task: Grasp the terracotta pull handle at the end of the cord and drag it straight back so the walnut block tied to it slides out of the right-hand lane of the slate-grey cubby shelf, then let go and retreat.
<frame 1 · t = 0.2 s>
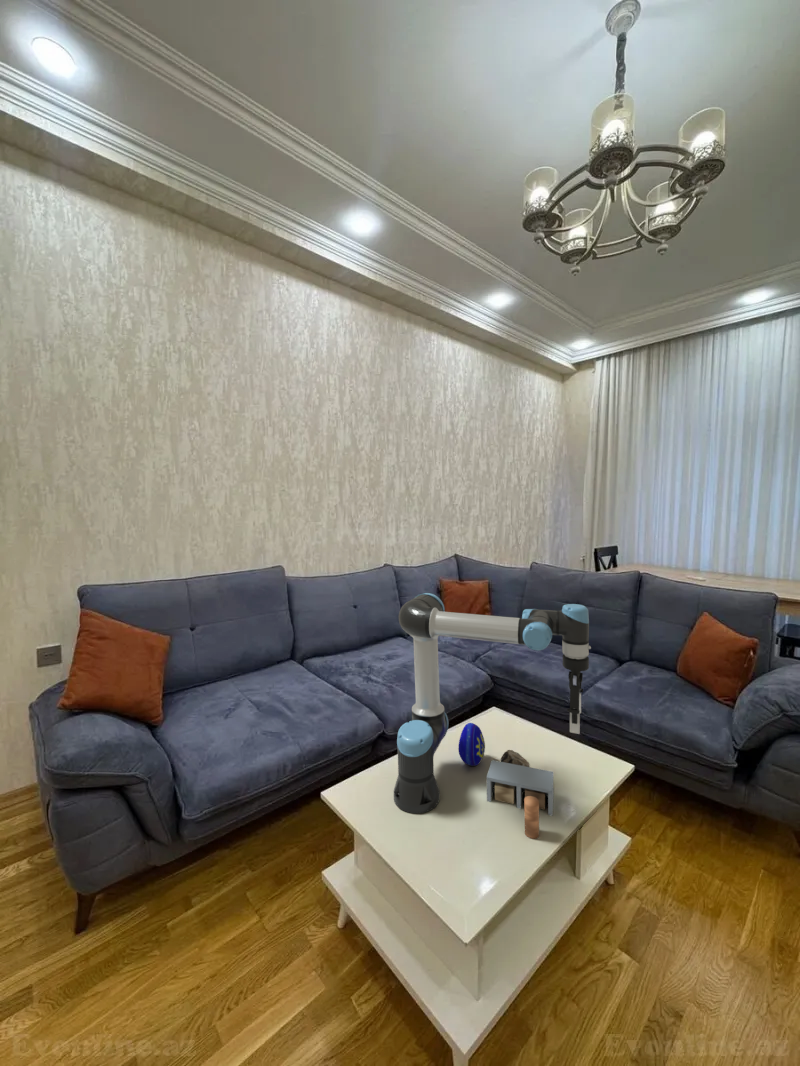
hand: (575, 722, 133), 27 cm above the table, fingers open, 13 cm apart
ornament: (471, 763, 160), on the table
tethered block: (535, 801, 138), on the table
oak block: (505, 796, 141), on the table
stone: (515, 775, 152), on the table
cubby shelf: (520, 798, 140), on the table
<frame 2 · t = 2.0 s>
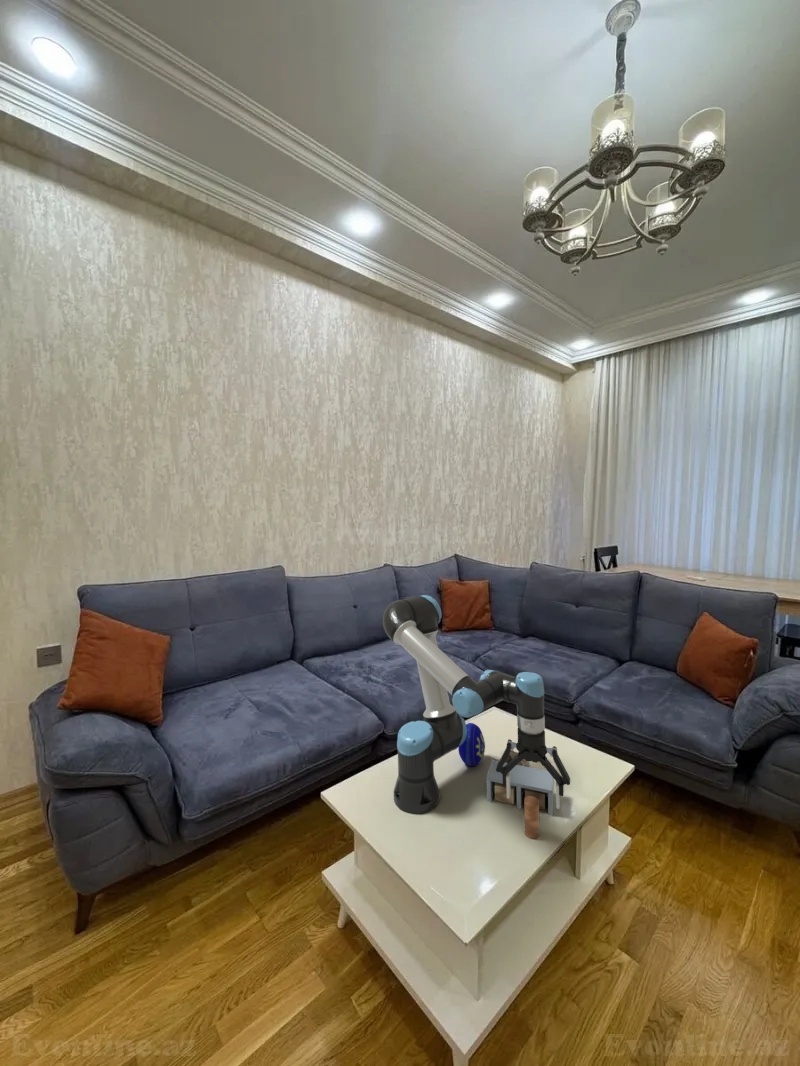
hand: (532, 800, 124), 10 cm above the table, fingers open, 13 cm apart
nothing on the table moved.
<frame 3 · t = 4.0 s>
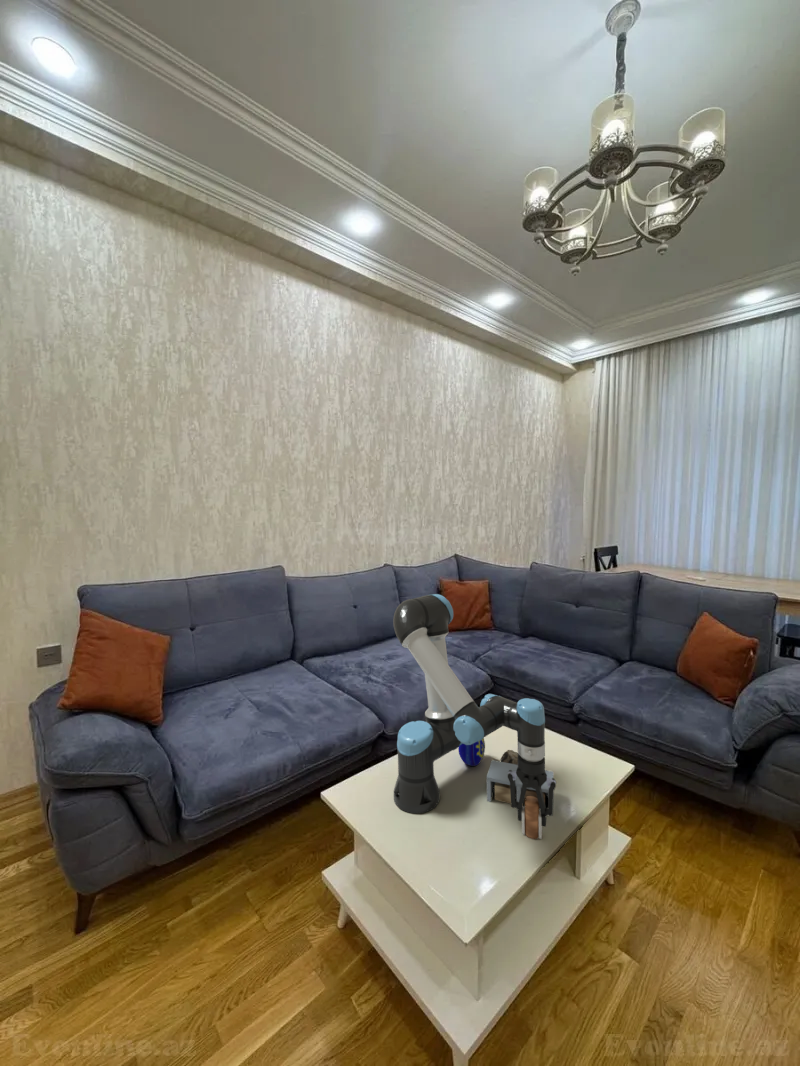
hand: (532, 832, 124), 0 cm above the table, fingers closed on tethered block, 4 cm apart
tethered block: (535, 801, 138), on the table, touching gripper
everything else where it was.
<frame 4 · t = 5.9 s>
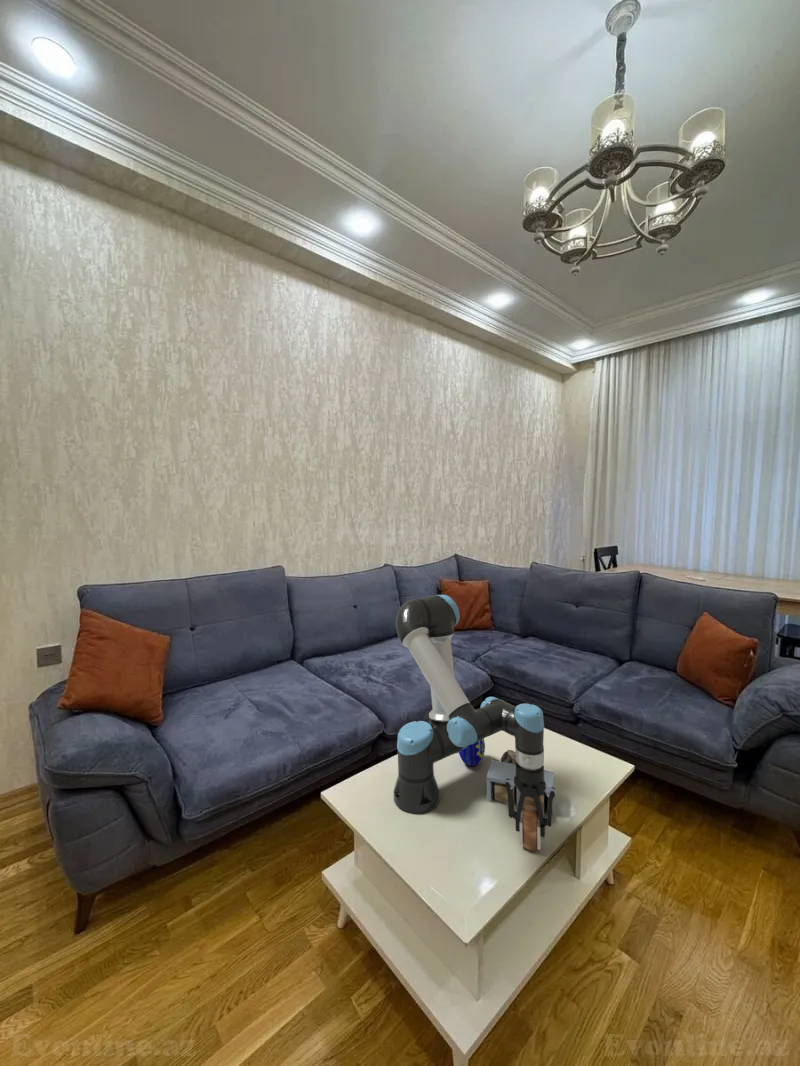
hand: (530, 843, 119), 1 cm above the table, fingers closed on tethered block, 4 cm apart
tethered block: (533, 809, 133), point 1 cm above the table, touching gripper
everything else where it was.
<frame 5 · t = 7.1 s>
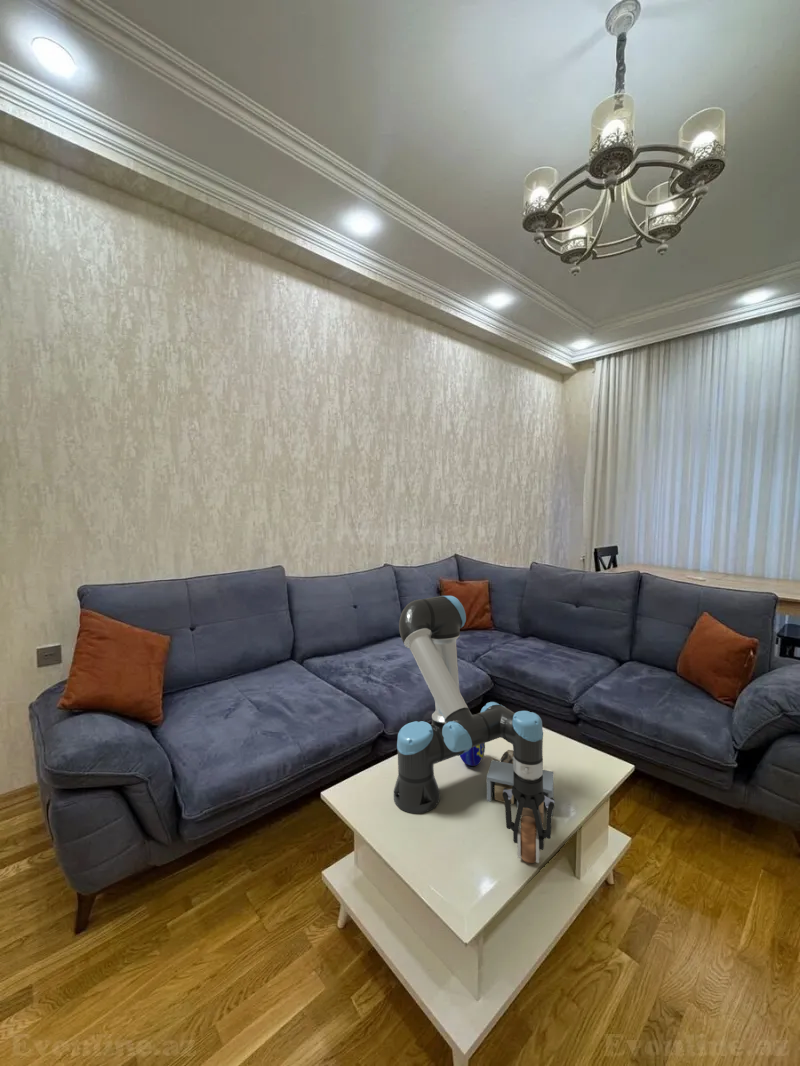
hand: (528, 856, 115), 1 cm above the table, fingers closed on tethered block, 4 cm apart
tethered block: (532, 819, 129), point 1 cm above the table, touching gripper
everything else where it was.
when the fingers open (1 cm above the table, at t = 8.0 s): tethered block stays where it is, on the table.
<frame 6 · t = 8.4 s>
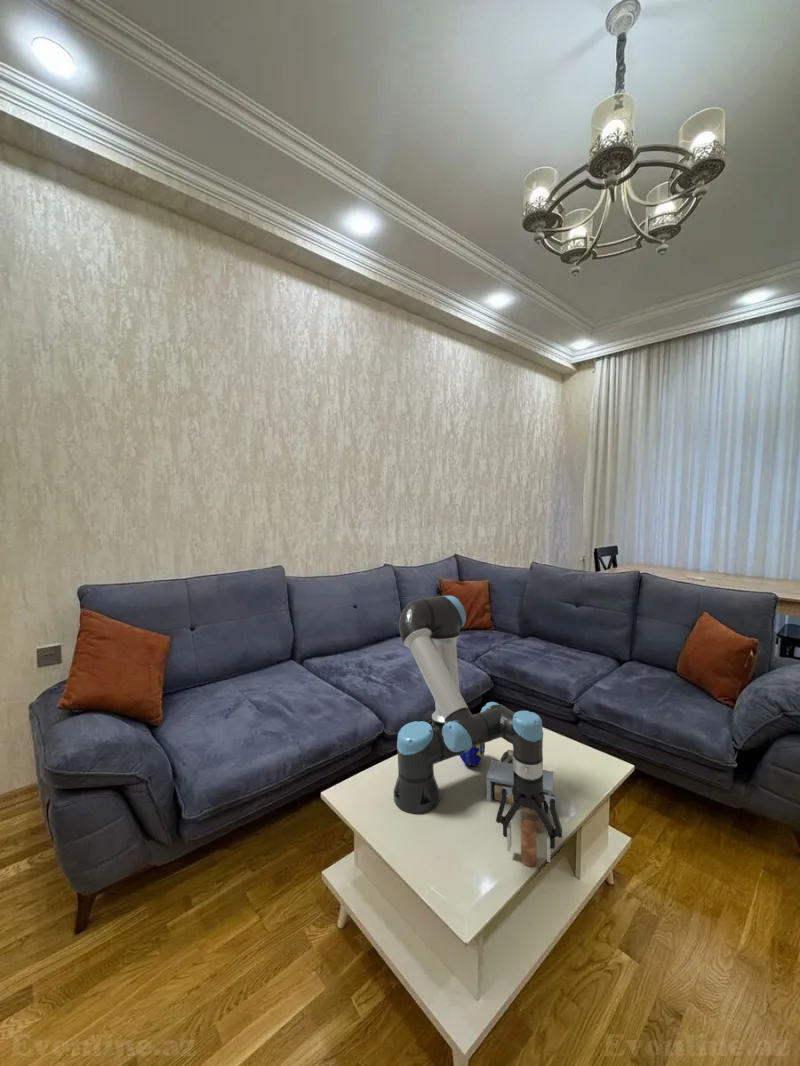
hand: (528, 852, 115), 2 cm above the table, fingers open, 9 cm apart
tethered block: (532, 823, 128), on the table
everything else where it was.
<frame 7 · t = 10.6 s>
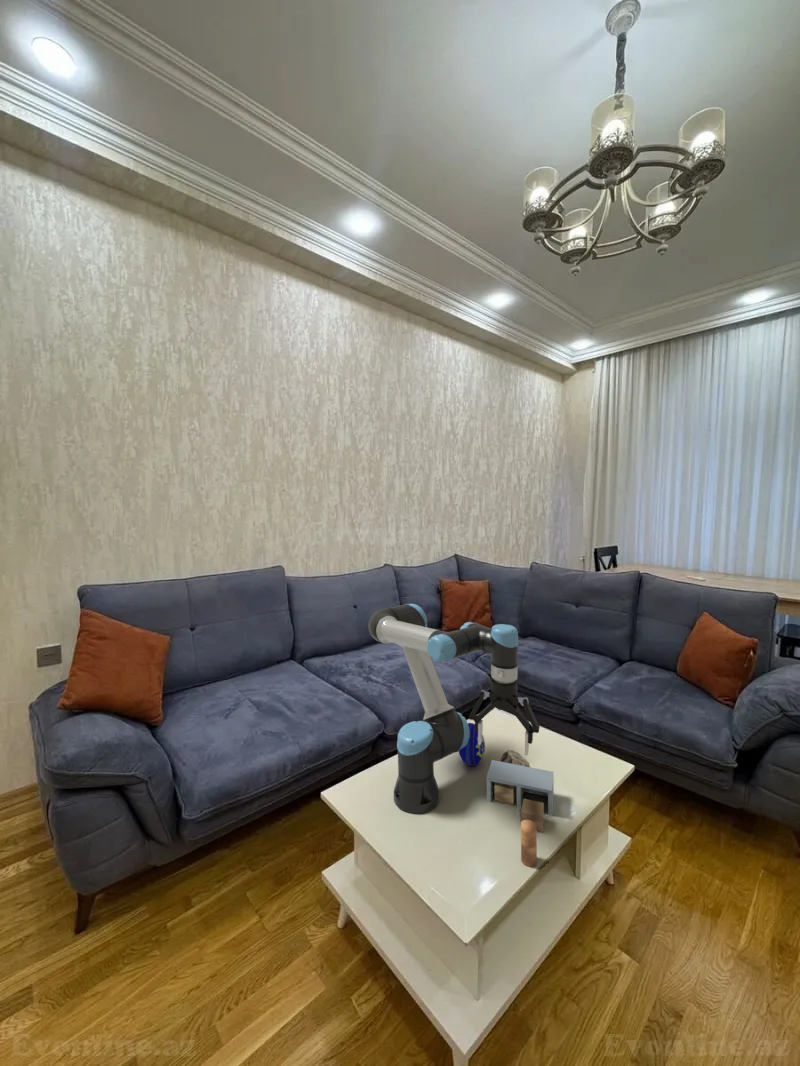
hand: (502, 747, 127), 24 cm above the table, fingers open, 13 cm apart
nothing on the table moved.
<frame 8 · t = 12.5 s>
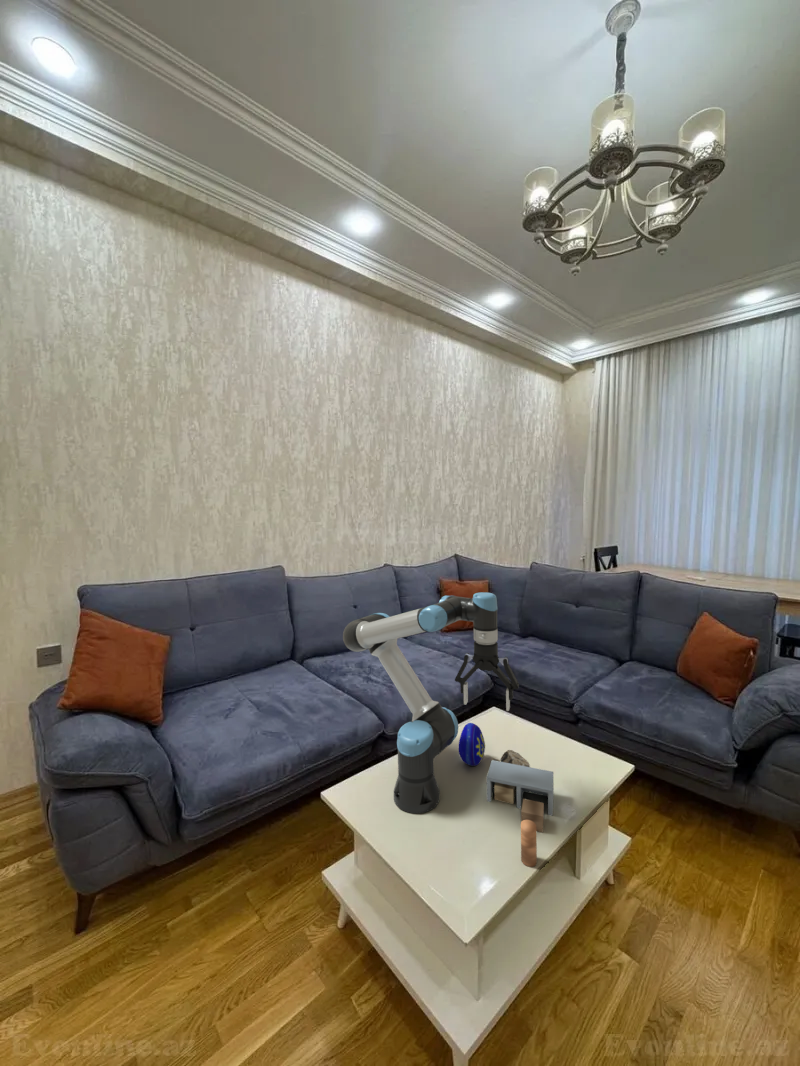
hand: (486, 705, 139), 31 cm above the table, fingers open, 13 cm apart
nothing on the table moved.
at the end: tethered block inside the target area (5.1 cm from its centre), on the table; tethered block moved 10.2 cm from its start; the gripper is holding nothing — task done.
